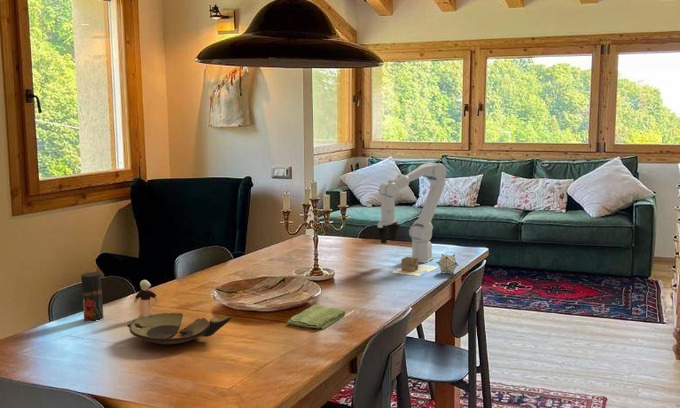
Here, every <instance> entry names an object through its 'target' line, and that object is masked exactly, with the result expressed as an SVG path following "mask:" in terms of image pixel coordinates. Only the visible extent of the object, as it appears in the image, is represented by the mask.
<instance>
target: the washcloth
mask: <svg viewBox="0 0 680 408" xmlns="http://www.w3.org/2000/svg"><path fill="white" fill-rule="evenodd" d="M346 313H347V312H346V310H345V309H342V308H335V307H329V306H324V305H321V304H313V305H311V306H310V307H309V308H306V309H304V310H303V311H301V312H300V313H298V314H296V315H293V316H292V317H291V318H289V319H288V321H287V322H286V324H288V325H289V326H296V327H301V328H310V329H311V328H312V329H318V330H320V331H321V330H322V331H323V330H326V329H327V328H328V327H330V326H332V325H333V324H335V323H337V322H339V320H342V319H343V318H344V317H345V315H346Z"/></svg>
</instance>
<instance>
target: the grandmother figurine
mask: <svg viewBox="0 0 680 408" xmlns="http://www.w3.org/2000/svg"><path fill="white" fill-rule="evenodd" d="M139 285H140V286H139V287H140V289H141V290H139V292H137V293H136V295H135V297H134V300H133V303H135V304H136V303H137V302H138V301H139V315H138V317H137V319H138V318H139V319H140V318H143V317H147V316H151V315H153V314H152V313H153V312H152V311H153V309H152V306H153V305H152V299H154V301H155V302H158V301H159V299H158V296H157V294H156V293H155V292H153V291H152V290H149V289H150V287H151V283H150V282H149V281H148V280H147V279H143V280H141V281H140V282H139ZM151 298H152V299H151ZM139 299H140V300H139Z"/></svg>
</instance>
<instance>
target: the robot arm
mask: <svg viewBox="0 0 680 408" xmlns="http://www.w3.org/2000/svg"><path fill="white" fill-rule="evenodd" d="M447 172H448V171H447V169H446V167H445V165H444V164H443V163H438V162H437V163H436V162H430V161H429V162H427V161H426V162H425V163H423V164H421V165H419V166H418V167H417V168H415V169H414V170H412V171H410V172H409V173H408V174H401V173H399V174H397V175H396V177H394V178H392V179H388V182H382V183H380V186H379V187H378V190H377V191H378V193H379V195H380V207H381V208H380V211H381V212H380V214H381V215H380V216H381V217H380V218H381V219H379V220H378V222H377V226H375V229H376V231H377V233H378V236H379V239H380V243H381V244H385V245H386V244H387V241H388V237H389V241H395V240H396V237H397V232H398V230H399V228H400V226H401V225H400V223H399V218H397V217H395V216H396V213H395V202H396V201H395V196H396V195H397V193H398V192H400V191H402V190H403V189H405V188H407V187H408V186H409V185H410V182H412V181H415V180H417V179H419V178H421V177H423V176H424V177H425V178H426V179H427V180H428V182H429V184H430V188H429V191H428V193H427V197H426V198H425V202H424V204H423V206H422V209H421V212H420V215H419V217H418V218H417V219H416V220H415V221H413V224H412V225H411V226H410V227H409V229H408V234H409V237H410V238H411V242H412V247H411V248H412V249H411V251H412V252H411V253H412V254H411V255H412V256H411V257H413V258H418V263H422V264H425V263H428V262H429V261H430V262H431V261H432V260H434V258H435V257H433V256H432V255H433V250H432V249H433V246H432V242H431V241H430V240H431V238H432V237H433V229H434V226H433V224H432V220H433V217H434V215H435V213H436V209H437V206H438V205H439V201H440V199H441V196H442V194H443V191H444V188H445V185H446V181H445V180H446V175H447Z"/></svg>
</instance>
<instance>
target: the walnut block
mask: <svg viewBox="0 0 680 408" xmlns="http://www.w3.org/2000/svg"><path fill="white" fill-rule="evenodd" d="M418 265H419V262H418V258H413V257H412V256H406V257H403V258H401V268H402V271H407V272H414V271H416V270H418Z"/></svg>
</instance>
